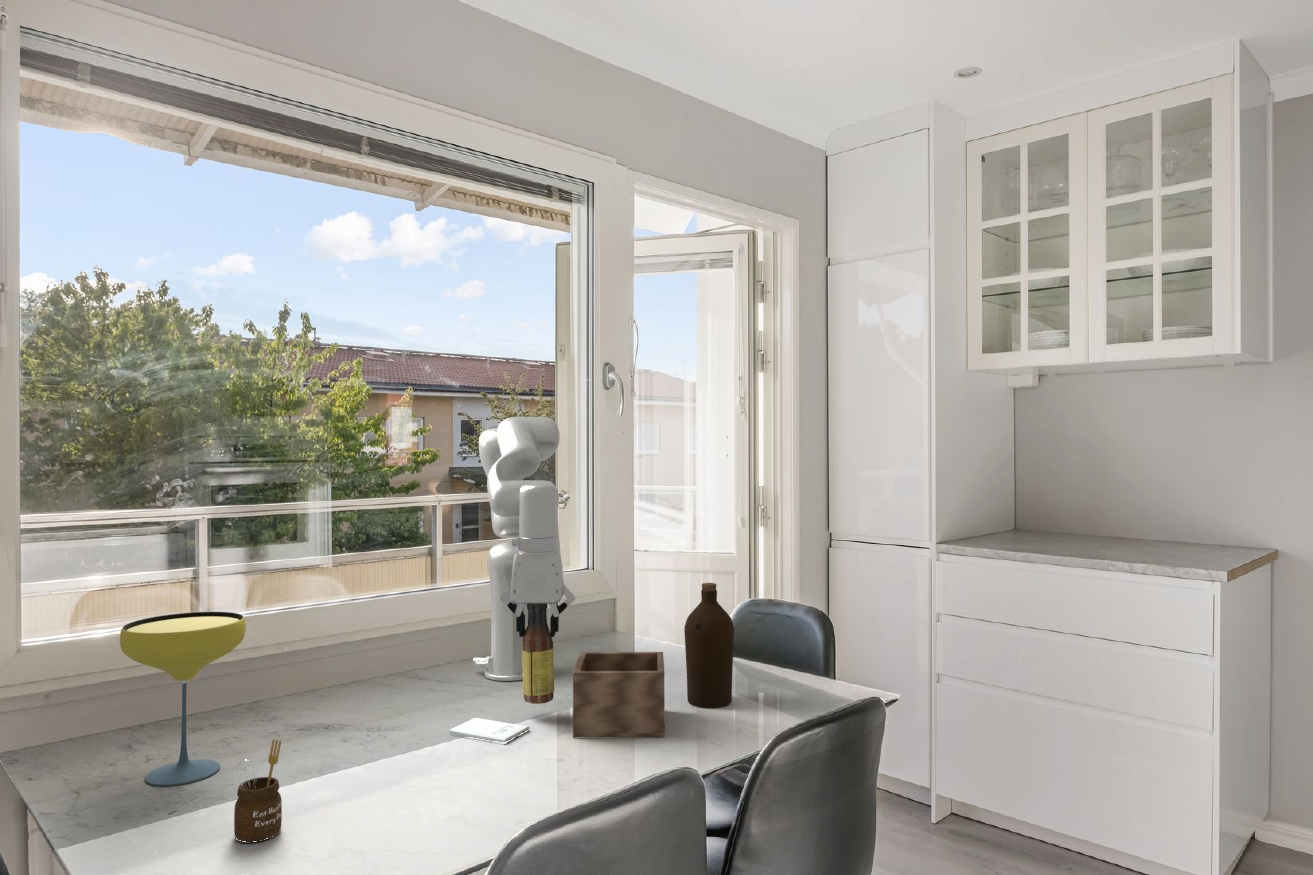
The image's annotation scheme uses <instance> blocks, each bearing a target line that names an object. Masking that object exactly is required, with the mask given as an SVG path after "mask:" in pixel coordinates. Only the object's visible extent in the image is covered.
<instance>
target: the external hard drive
mask: <svg viewBox="0 0 1313 875" xmlns="http://www.w3.org/2000/svg"><path fill="white" fill-rule="evenodd" d="M528 729H529V730H530V726H527V725H520V724H515V723H508V722H504V721H498V720H492V719H485V718H479V717H474V718H471V719H470V720H468V721H465V722H463V723H461V724H459V725H457V726H454V727H453V728H450V729H449V736H452V737H457V736H458V738H463V737H473V738H479V739H485V740H490V741H499V742H506V741H509V740H511V739H512V738H514V737H516V738H518V737H519V736H518V735H520V734H521V733H524V732H525V731H527V730H528ZM517 736H518V737H517Z"/></svg>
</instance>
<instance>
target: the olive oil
mask: <svg viewBox="0 0 1313 875" xmlns="http://www.w3.org/2000/svg"><path fill="white" fill-rule="evenodd" d="M700 592H701V593H700V596H701V597H700V598H701V599H700V600H701V601H700V603H698V605H697V606H695V608H694V609H693V610H692V611H691V612H690V614H689V615H688V616H687V618H686V620H685V624H684V630H683V631H684V647H685V648H684V649H685V665H686V666H685V668H686V689H687V690H686V691H687V692H686V693H687V694H686V696H687V698H686V699H687V702H688V703H689V704H690V705H691V706H694V707H697V708H698V707H699V708H705V709H714V708H715V709H716V708H718V709H719V708H723V707H727V706H729V705H731V704H732V701H733V699H732V698H733V696H732V695H733V667H734V664H733V663H734V647H735V646H734V642H735V627H734V623H733V620H732V618H731V616H730V615H729V613H728V612H727V611H726V610H725V609H724V608H723V607H722V606H721V604H720V603H719V601H718V600H717V599H718V590H717V583H714V582H703V583H701V591H700Z"/></svg>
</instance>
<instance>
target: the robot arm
mask: <svg viewBox="0 0 1313 875" xmlns="http://www.w3.org/2000/svg"><path fill="white" fill-rule="evenodd" d="M560 440H561V438H560V430H559V425H557V423H556V421H555V420H554V419H553V418H550V417H547V416H511V417H508V418H505V419H503V420H502V421H501V422H500V423H499V424H498V426H497V427H492V428H488V429H485V430H484V431H483V432H481V433H480V436H479V438H478V453H479V458H480V462H481V465H482V469H483V471H484V473H485V476H486V479H487V480H486V481H487V483H486V486H487V488H486V490H487V497H488V502H489V506H490V513H491V514H490V516H491V517H490V518H491V527H492V531H493V533H494V535H495V536H496V537H499V538H502V539H511V541H507V542H501V543H497V544H495V545H493V546H492V547H491V548H490V549H489V550H488V553H487V560H486V561H487V568H488V575H489V584H490V585H489V586H490V599H491V600H490V601H491V602H490V604H491V605H490V609H491V610H490V611H491V612H490V615H491V617H490V618H491V619H490V626H491V631H490V634H491V635H490V636H491V637H490V638H491V639H490V641H491V642H490V647H491V648H490V652H491V653H490V655H486V657H481V656H480V657H479V656H478V657H477V656H473V660H472V664H473V666H475V667H476V668H483V667H484V668H486V669H485V670H484V677H485V678H487V679H488V680H492V681H498V682H499V681H500V682H511V681H512V682H513V681H514V682H515V681H523V660H522V649H523V635H524V632H525V630H526V628H527V626H528V609H527V604H547V605H549V608H550V610H551V616H550V618H549V620H550V622H549V624H550V626H549V631H550V637H552V638H555V636H556V633H558V632H559V629H560V628H559V622H560V621H559V620H560V619H559V618H560V615H561V614H562V613H563V612H564V611H565V610H566V609H567V608H568V607H569V606H570V605H571V604H573V603H574V602H575V600H576V598H577V597H576V595H575V594H574V593H573V592H572V591H571V590H570V589H569V588H568V587H567V586H566V584H565V583H564V568H563V560H562V554H561V543H560V542H561V541H560V532H559V520H558V507H559V501H560V496H559V489H558V488H557V487H556V485H555V484H554V483H553V482H552V481H549V480H543V479H542V480H538V479H536V480H528V479H527V480H524V479H525V478H528V477H530V476H532V475H534V474H535V473H536V472H537V470H538V469H539V467H540V466H541V463H542V462H544V461H546V460H548V459H549V458H550V457H551V456H553V455H554V453H556V451H557V450H558V448H559V445H560ZM563 596H564V597H565V600H564V601H562V602H561V600H562V598H563ZM559 602H561V603H560V604H559Z"/></svg>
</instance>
